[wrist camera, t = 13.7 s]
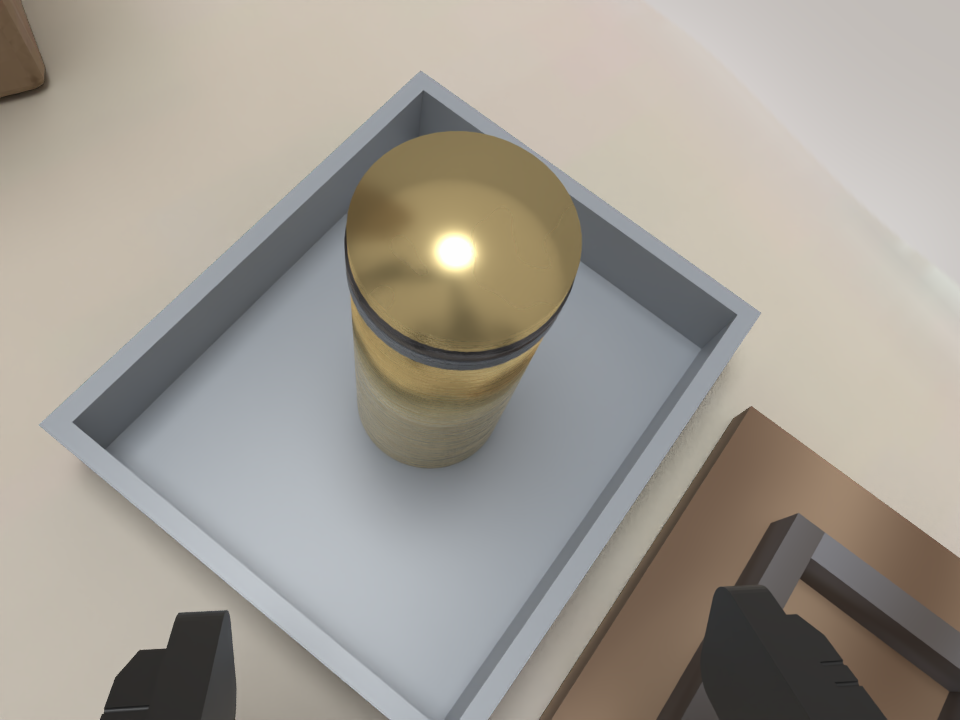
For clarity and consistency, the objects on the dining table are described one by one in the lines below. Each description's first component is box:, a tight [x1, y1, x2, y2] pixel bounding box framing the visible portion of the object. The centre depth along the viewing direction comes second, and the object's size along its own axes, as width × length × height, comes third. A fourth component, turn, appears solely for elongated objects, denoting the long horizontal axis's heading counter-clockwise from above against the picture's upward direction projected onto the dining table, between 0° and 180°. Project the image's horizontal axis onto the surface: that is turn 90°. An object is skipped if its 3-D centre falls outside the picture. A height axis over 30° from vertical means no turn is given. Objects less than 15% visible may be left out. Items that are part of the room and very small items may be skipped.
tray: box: [39, 71, 761, 720], centre depth 21 cm, size 12×14×3 cm
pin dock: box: [539, 406, 960, 720], centre depth 20 cm, size 11×12×3 cm
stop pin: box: [344, 131, 582, 469], centre depth 18 cm, size 4×4×10 cm
